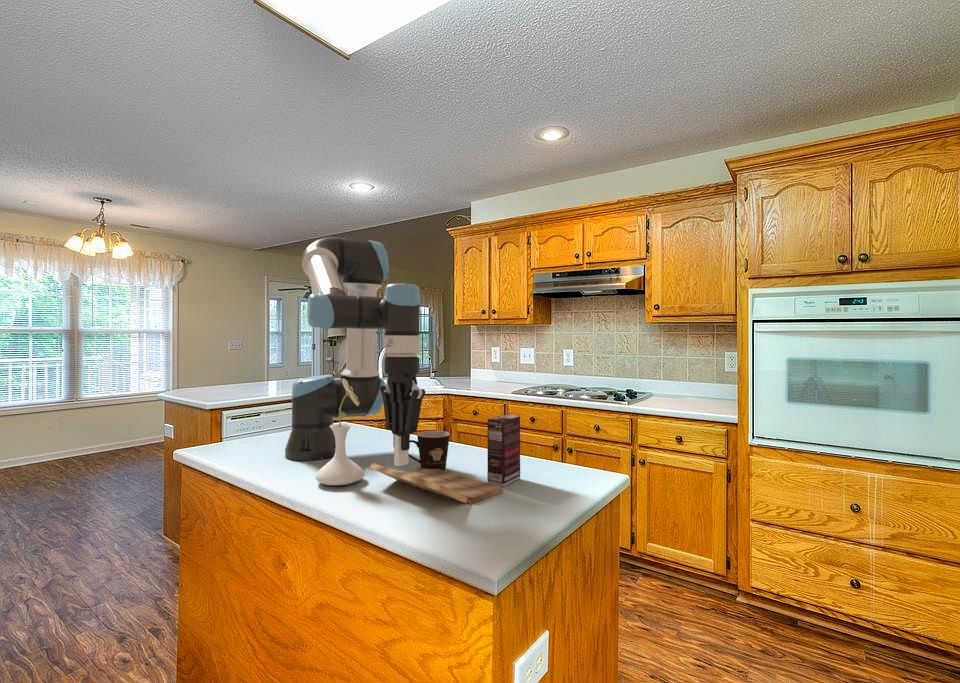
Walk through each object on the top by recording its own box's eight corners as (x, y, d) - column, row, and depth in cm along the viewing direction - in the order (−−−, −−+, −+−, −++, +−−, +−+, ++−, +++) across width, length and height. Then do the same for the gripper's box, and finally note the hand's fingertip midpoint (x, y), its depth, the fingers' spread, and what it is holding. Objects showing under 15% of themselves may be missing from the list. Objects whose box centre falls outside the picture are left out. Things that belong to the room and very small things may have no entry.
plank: (369, 467, 110) (372, 462, 111) (396, 479, 116) (398, 474, 116) (439, 490, 94) (441, 484, 94) (466, 503, 100) (468, 497, 100)
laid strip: (395, 478, 117) (395, 473, 117) (427, 470, 125) (427, 465, 125) (471, 504, 99) (471, 498, 99) (502, 492, 107) (502, 487, 107)
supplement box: (504, 475, 121) (505, 413, 120) (520, 479, 118) (521, 415, 118) (485, 484, 113) (486, 418, 113) (502, 487, 111) (503, 420, 111)
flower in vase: (359, 489, 108) (360, 381, 108) (308, 490, 108) (309, 381, 107) (369, 473, 121) (370, 376, 121) (324, 473, 121) (325, 376, 120)
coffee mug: (451, 467, 129) (452, 431, 129) (446, 477, 120) (446, 438, 120) (410, 466, 130) (410, 430, 130) (402, 475, 121) (402, 436, 121)
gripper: (370, 355, 103) (369, 462, 103) (407, 356, 95) (406, 473, 95) (397, 354, 109) (396, 456, 109) (435, 356, 100) (434, 466, 100)
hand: (401, 464), depth 102 cm, fingers closed
